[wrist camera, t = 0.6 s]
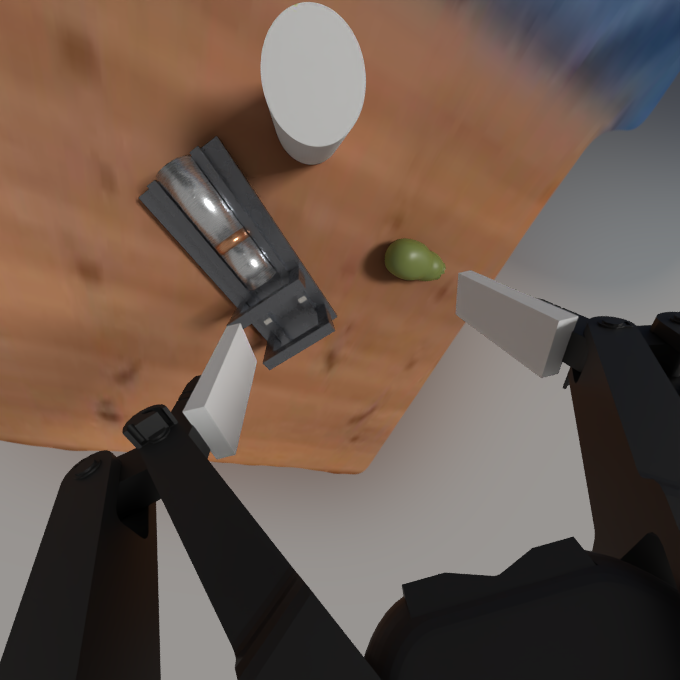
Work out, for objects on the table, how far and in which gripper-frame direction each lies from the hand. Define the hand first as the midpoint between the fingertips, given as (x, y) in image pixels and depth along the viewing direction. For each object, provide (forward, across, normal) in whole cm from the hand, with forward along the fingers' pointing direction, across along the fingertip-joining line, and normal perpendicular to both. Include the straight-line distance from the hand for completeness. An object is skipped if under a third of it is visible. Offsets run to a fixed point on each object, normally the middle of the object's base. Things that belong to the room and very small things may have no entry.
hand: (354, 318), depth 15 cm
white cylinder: (+26, +2, +14) cm, 29 cm away
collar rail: (+25, -10, -1) cm, 27 cm away
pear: (+26, +14, -5) cm, 29 cm away
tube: (+24, -12, +4) cm, 27 cm away
